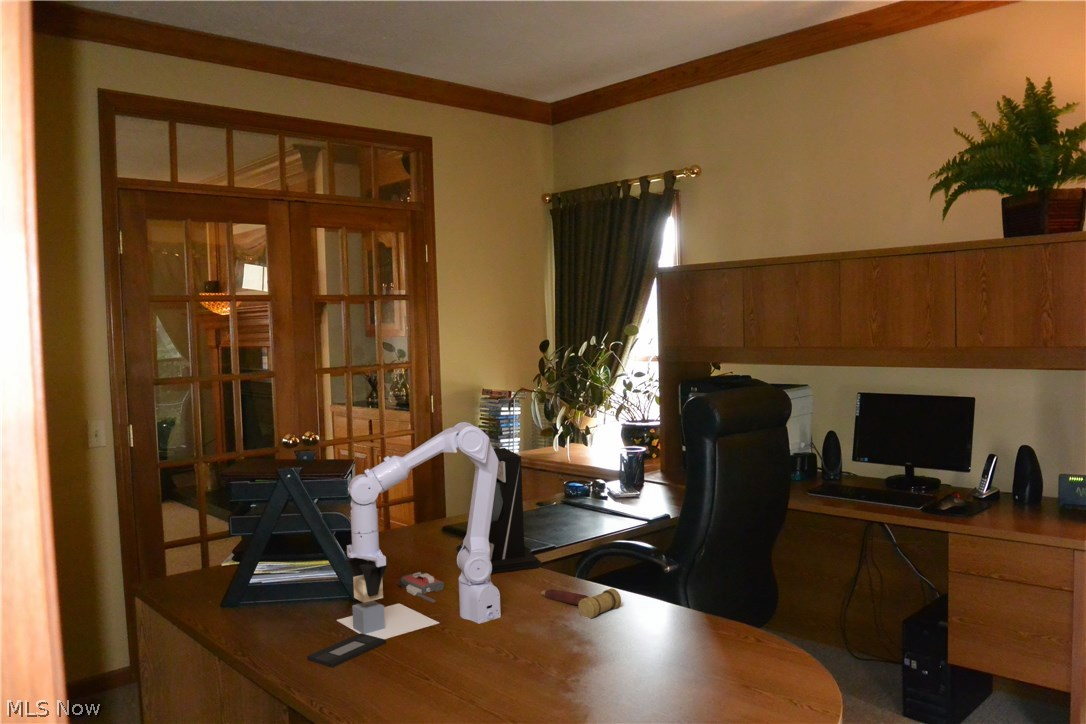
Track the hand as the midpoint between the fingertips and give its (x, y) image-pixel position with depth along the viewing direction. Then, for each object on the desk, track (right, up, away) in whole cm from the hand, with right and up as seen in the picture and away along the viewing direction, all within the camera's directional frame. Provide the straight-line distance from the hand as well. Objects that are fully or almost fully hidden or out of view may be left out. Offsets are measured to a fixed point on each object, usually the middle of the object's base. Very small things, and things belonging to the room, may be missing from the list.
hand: (367, 592), depth 181 cm
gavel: (+45, -7, +15) cm, 48 cm away
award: (+25, -6, +57) cm, 63 cm away
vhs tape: (-1, -10, -12) cm, 16 cm away
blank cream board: (+4, -9, +4) cm, 10 cm away
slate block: (0, -8, 0) cm, 8 cm away
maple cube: (0, -1, 0) cm, 1 cm away
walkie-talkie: (+9, -8, +26) cm, 29 cm away
